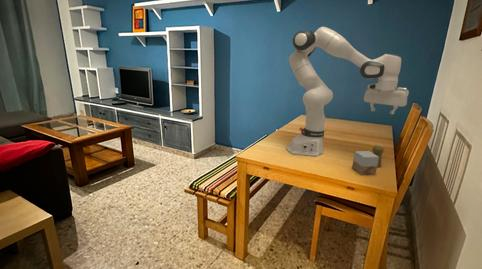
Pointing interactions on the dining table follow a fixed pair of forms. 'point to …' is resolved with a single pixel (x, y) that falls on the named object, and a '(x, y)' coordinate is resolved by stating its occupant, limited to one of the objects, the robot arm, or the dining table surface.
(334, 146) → the dining table surface
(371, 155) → the grey block
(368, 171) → the walnut block
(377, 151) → the cork
